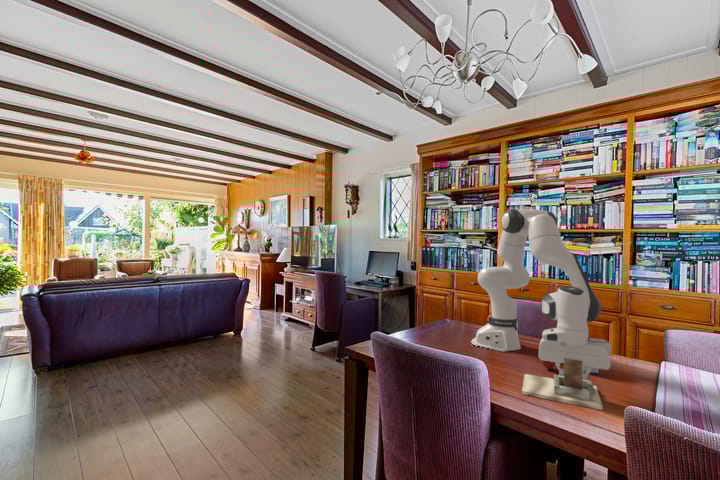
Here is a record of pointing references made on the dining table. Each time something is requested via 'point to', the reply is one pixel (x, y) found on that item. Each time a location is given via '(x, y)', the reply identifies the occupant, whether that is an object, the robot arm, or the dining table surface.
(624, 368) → the dining table surface
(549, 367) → the onion
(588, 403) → the socket stand
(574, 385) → the walnut peg
